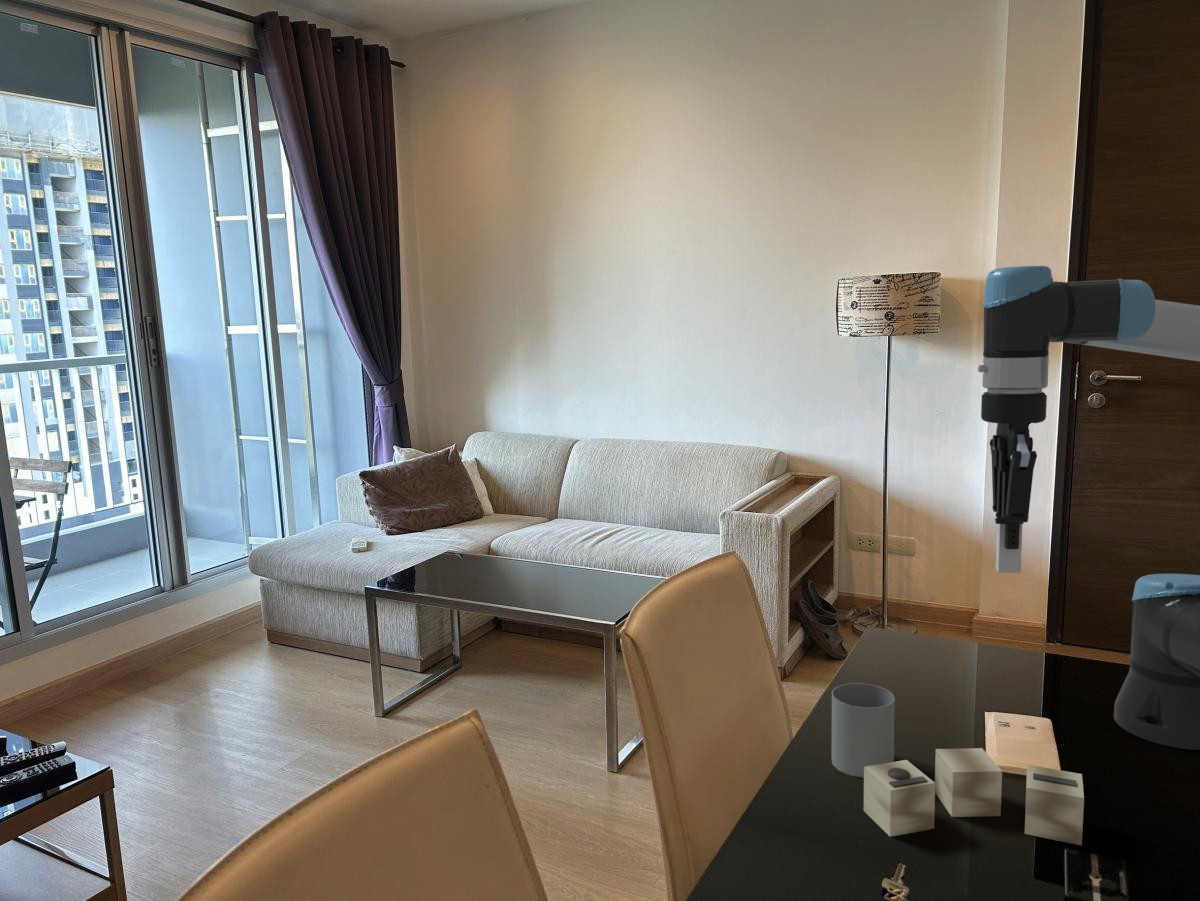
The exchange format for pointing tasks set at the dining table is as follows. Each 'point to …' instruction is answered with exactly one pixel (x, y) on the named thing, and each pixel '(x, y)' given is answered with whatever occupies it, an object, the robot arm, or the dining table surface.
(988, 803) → the plain block
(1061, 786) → the striped block
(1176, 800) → the dining table surface
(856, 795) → the dining table surface
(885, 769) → the striped block
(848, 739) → the cup
